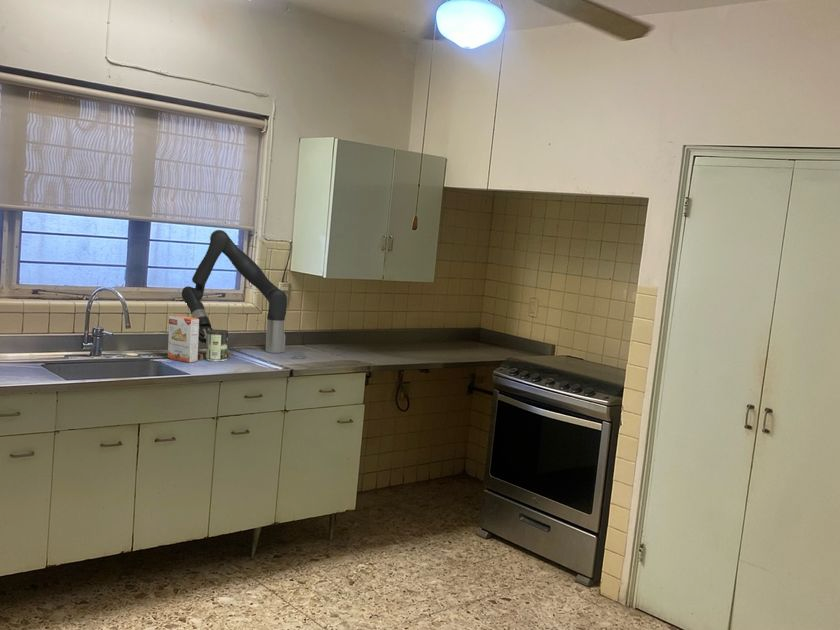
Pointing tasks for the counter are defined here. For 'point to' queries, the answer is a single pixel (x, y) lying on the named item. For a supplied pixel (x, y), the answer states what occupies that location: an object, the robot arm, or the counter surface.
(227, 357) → the chute
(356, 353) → the counter surface
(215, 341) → the coffee can
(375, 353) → the counter surface
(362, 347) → the counter surface
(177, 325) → the cracker box
